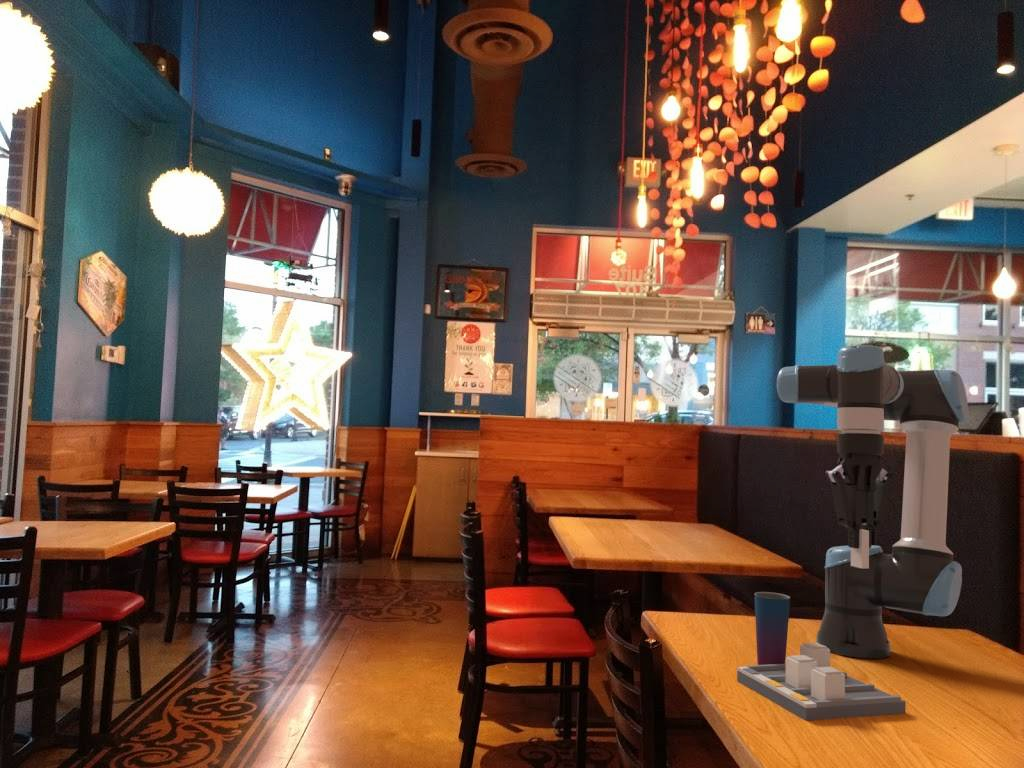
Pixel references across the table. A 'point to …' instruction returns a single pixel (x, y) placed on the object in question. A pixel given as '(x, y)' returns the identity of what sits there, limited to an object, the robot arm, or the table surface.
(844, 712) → the switch bank
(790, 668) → the tab middle
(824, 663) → the tab
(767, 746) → the table surface
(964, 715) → the table surface
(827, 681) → the tab
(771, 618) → the cup
